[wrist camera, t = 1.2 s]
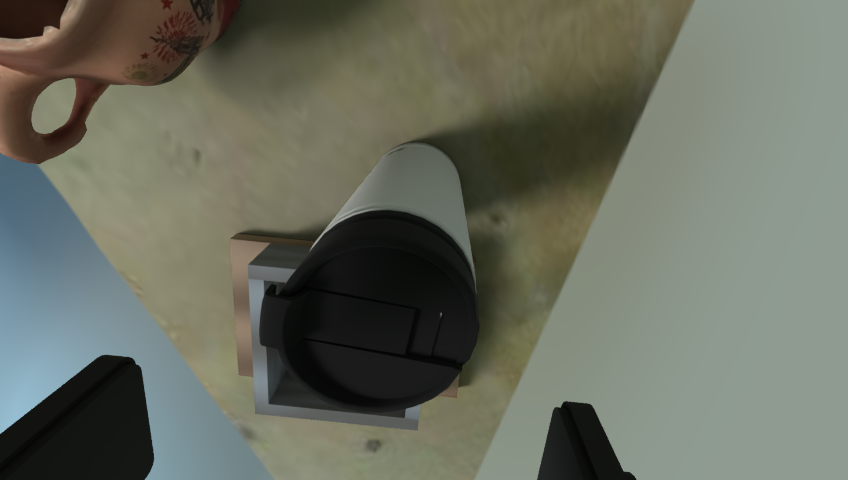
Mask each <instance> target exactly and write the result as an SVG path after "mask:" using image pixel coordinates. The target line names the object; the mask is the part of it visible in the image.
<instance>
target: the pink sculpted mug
mask: <svg viewBox="0 0 848 480" xmlns="http://www.w3.org/2000/svg"><path fill="white" fill-rule="evenodd" d="M241 1H242V0H0V153H1V154H4V155H6V156H8V157H11V158H13V159H16V160H19V161H21V162H25V163H34V164H41V163H42V162H44V161H46V160H48V159H51V158H54V157H56V156H58V155H60V154H62V153H64V152H65V151H67V150H68V149H70V148H72V147H74V146H75V145H76V144H78V143H79V142H80V141H81V140H82V138H83V137H84V135H85V133H86V131H87V128H86V125H85V121H86V119H87V117H88V115H89V113H90V111H91V109H92V107H93V105H94V104H95V102H96V101H97V100H98V98H99V97H100V96H101V95H102V94H103V92H104V91H105V90H106V89H107V88H108V86H109V85H110V84H113V85H127V84H130V85H140V86H154V85H160V84H163V83H166V82H169V81H171V80H173V79H175V78H176V77H177V76H179V75H180V74H181V73H182V72H183V71H184V70H185V69H186V68H187V67H188V66H189V65H190V63H191V62H192V61H193V60H194V58H195V57H196V56H197V55H198V54H199V53H200V52H202V51H203V50H204V49H206V48H207V47H208V46H209V45H211V44H212V43H213V42H215V41H217V40H218V39H220V38H221V37H222V35H223V34H224V33H225V32H226V30H227V29H228V28H229V26H230V25H231V23H232V21H233V19H234V17H235V15H236V13H237V11H238V8H239V6H240V4H241ZM66 78H74V80H75V83H76V98H75V102H74V106H73V109H72V113H71V115H70V118H69V120H68V121H67V122H66V124H65V125H63V126H62V127H60V128H58V129H56V130H55V131H53V132H52V133H48V134H40V133H38V132H36V131H35V130H34V129H33V127H32V122H31V116H32V110H33V107H34V104H35V102H36V99H37V97H38V96H39V95H40V93H41V92H42V91H43V90H44V89H46V88H47V87H48V86H49V85H50V84H52V83H53V82H55V81H58V80H62V79H66Z"/></svg>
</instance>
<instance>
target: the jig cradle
mask: <svg viewBox="0 0 848 480" xmlns="http://www.w3.org/2000/svg"><path fill="white" fill-rule="evenodd" d="M315 242H316V241H306V240H296V239H286V238H276V237H266V236H256V235H246V234H236V235H234V236H233V237H232V238H230V250H231V265H232V280H233V295H234V310H235V325H236V340H237V355H238V370H239V375H240V376H250V377H254V395H255V414H263V415H273V416H282V417H292V418H302V419H311V420H321V421H331V422H340V423H350V424H360V425H370V426H379V427H389V428H399V429H408V430H418V421H419V411H420V405H418V406H415V407H411V408H407V409H404V410H400V411H394V412H385V413H365V412H357V411H352V410H347V409H342V408H340V407H337V406H334V405H331V404H329V403H326V402H324V401H322V400H321V399H319V398H317V397H315V396H314V395H312V394H310V393H309V392H308V391H307V390H305V389H304V388H303V387H302V386H301V385H300V384H298V383H297V382H296V381H295V379H294V378H293V377H292V376H291V374H290V373H289V372H288V371H287V369H286V368H285V366H284V364H283V362H282V360H281V358H280V356H279V353H278V350H277V349H275V348H270V347H265V346H262V345H260V339H259V324H260V313H261V305H262V300H263V297H264V294H265V291H266V290H267V289H268V288H269V286H270V285H271V284H275V285H277V288H276V294H277V295H278V294H279V293H280V291H281V290H282V289H283V287H284V285H285V284H286V282H287V281H288V279H289V278H290V277H291V275H292V274H293V273H294V272H295V270H296V269H297V268H298V267H299V265H300V264H301V262H302V261H303V260H304V258H305V257H306V256H307V255H308V253H309V252H310V250H311V248H312V246H313V244H314V243H315ZM472 259H473V265H474V272H475V265H476V262H475V257H472ZM459 377H460V373H459V375H458V376H457V377H456V379H455V380H454V381H453V383H452V384H451V385H450V386H449V388H448V389H446V390H445V391H443V392H442V393H440V394H439V395H437V396H445V397H455V398H457V391H458V384H459Z"/></svg>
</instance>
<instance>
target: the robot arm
mask: <svg viewBox="0 0 848 480" xmlns="http://www.w3.org/2000/svg"><path fill="white" fill-rule="evenodd" d="M153 462H154V453H153V446H152V440H151V432H150V425H149V418H148V411H147V405H146V398H145V391H144V384H143V377H142V371H141V368H140V366H139V365H136V363H135V361H134V360H133V358H130V357H122V356H112V355H102V356H100V357H98V358H97V359H95V360H94V361H93V362H92V363H90V364H89V365H88V366H86V367H85V368H84V369H83V370H81V371H80V372H79V373H78V374H76V375H75V376H74V377H72V378H71V379H70V380H69V381H67V382H66V383H65V384H63V385H62V386H61V387H60V388H58V389H57V390H56V391H55V392H53V393H52V394H51V395H50V396H48V397H47V398H46V399H44V400H43V401H42V402H41V403H40V404H38V405H37V406H35V407H34V408H33V409H32V410H30V411H29V412H28V413H27V414H25V415H24V416H23V417H21V418H20V419H19V420H18V421H16V422H15V423H14V424H12V425H11V426H10V427H9V428H7V429H6V430H5V431H4V432H2V433H1V434H0V480H145V478H146V477H147V476H148V474H149V472H150V470H151V468H152V466H153ZM537 480H636V478H635V476H634V475H632V474H631V473H630V472H623V469H622V468H621V465H620V463H619V461H618V459H617V457H616V455H615V453H614V450H613V448H612V446H611V444H610V442H609V440H608V438H607V436H606V433H605V431H604V429H603V427H602V425H601V423H600V421H599V419H598V417H597V414H596V412H595V410H594V408H593V407H592V405H590V404H587V403H577V402H567V401H565V402H563V404H562V406H561V408H558V407H556V408H554V410H553V413H552V418H551V422H550V426H549V431H548V435H547V439H546V444H545V448H544V452H543V457H542V461H541V465H540V470H539V474H538V479H537Z"/></svg>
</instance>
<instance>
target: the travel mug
mask: <svg viewBox="0 0 848 480" xmlns="http://www.w3.org/2000/svg"><path fill="white" fill-rule="evenodd" d="M276 288H277V285H275V284H271V285H270V286H269V288H268V289H267V290H266V291H265V294H264V297H263V300H262V305H261V313H260V324H259V339H260V345H262V346H265V347H270V348H275V349H277V350H278V353H279V356H280V358H281V360H282V362H283V364H284V366H285V368H286V369H287V371H288V372H289V373H290V374H291V376H292V377H293V378H294V379H295V381H296V382H297V383H298V384H300V385H301V386H302V387H303V388H304V389H305V390H307V391H308V392H309V393H310V394H312V395H314V396H315V397H317V398H319V399H321V400H322V401H324V402H326V403H329V404H331V405H334V406H337V407H340V408H342V409H347V410H352V411H357V412H365V413H385V412H394V411H400V410H404V409H407V408H411V407H415V406H418V405H420V404H422V403H424V402H426V401H429V400H431V399H433V398H434V397H436V396H437V395H439V394H440V393H442V392H443V391H445V390H446V389H448V388H449V386H450V385H451V384H452V383H453V381H454V380H455V379H456V377H457V376H458V375H459V373H460V372H461V371H462V365H463V364H464V363H465V362H467V361H468V360H469V359H470V357H471V354H472V352H473V350H474V347H475V345H476V342H477V337H478V331H479V317H478V305H477V294H476V277H475V273H474V265H473V259H472V253H471V246H470V240H469V234H468V228H467V221H466V215H465V209H464V203H463V197H462V190H461V185H460V179H459V175H458V171H457V169H456V167H455V165H454V163H453V162H452V160H451V159H450V158H449V157H448V156H447V155H446V154H445V153H444V152H443V151H442V150H440V149H438V148H436V147H435V146H432V145H429V144H426V143H419V142H412V143H405V144H402V145H399V146H397V147H395V148H393V149H391V150H390V151H389V152H387V153H386V154H385V155H384V156H383V157H382V158H381V160H380V161H379V162H378V163H377V165H376V166H375V167H374V168H373V170H372V171H371V172H370V173H369V175H368V176H367V177H366V179H365V180H364V181H363V182H362V184H361V185H360V186H359V187H358V189H357V190H356V191H355V192H354V194H353V195H352V196H351V197H350V199H349V200H348V201H347V202H346V204H345V205H344V206H343V208H342V209H341V210H340V211H339V213H338V214H337V215H336V216H335V218H334V219H333V220H332V221H331V223H330V224H329V225H328V226H327V228H326V229H325V230H324V232H323V233H322V234H321V235H320V237H319V238H318V239H317V240H316V242H315V243H314V244H313V246H312V248H311V250H310V252H309V253H308V255H307V256H306V257H305V258H304V260H303V261H302V262H301V264H300V265H299V267H298V268H297V269H296V270H295V272H294V273H293V274H292V275H291V277H290V278H289V279H288V281H287V282H286V284H285V285H284V287H283V289H282V290H281V291H280V293H279V294H278V295H277V294H276Z"/></svg>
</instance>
